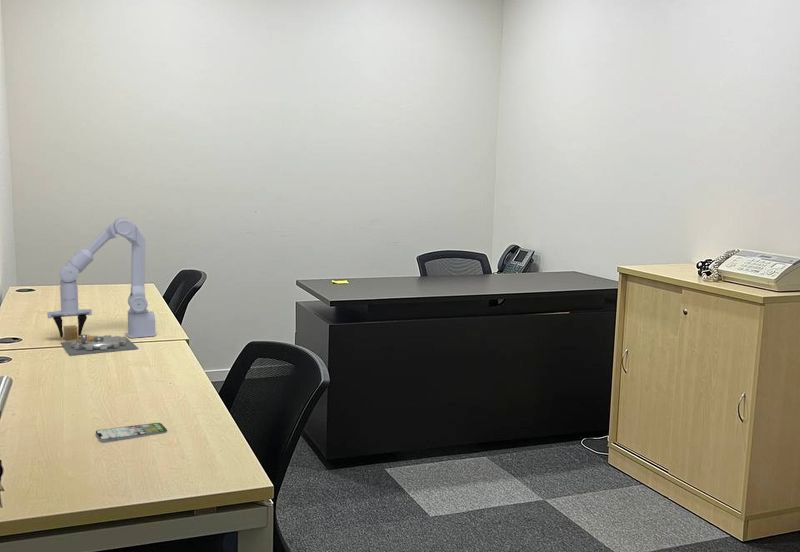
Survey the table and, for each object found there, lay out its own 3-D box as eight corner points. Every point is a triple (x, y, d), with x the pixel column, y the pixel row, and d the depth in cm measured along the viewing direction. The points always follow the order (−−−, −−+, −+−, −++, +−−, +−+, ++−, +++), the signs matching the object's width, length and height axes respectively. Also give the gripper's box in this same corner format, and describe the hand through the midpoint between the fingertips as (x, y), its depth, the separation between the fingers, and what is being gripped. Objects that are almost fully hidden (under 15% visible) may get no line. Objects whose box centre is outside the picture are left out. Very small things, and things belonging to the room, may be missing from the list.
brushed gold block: (76, 338, 278) (75, 325, 278) (77, 340, 275) (77, 327, 274) (64, 339, 276) (63, 326, 276) (65, 341, 273) (65, 328, 272)
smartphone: (168, 431, 180) (101, 440, 172) (168, 435, 180) (101, 444, 172) (160, 422, 186) (94, 430, 178) (160, 426, 186) (94, 434, 178)
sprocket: (102, 336, 279) (101, 325, 278) (137, 342, 270) (137, 330, 269) (59, 345, 263) (58, 333, 262) (95, 352, 254) (94, 339, 254)
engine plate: (125, 337, 281) (125, 336, 281) (138, 349, 263) (138, 348, 263) (60, 343, 270) (60, 342, 270) (69, 355, 252) (69, 354, 252)
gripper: (88, 296, 281) (90, 332, 283) (45, 298, 273) (47, 335, 275) (92, 298, 275) (93, 335, 277) (48, 301, 267) (49, 339, 269)
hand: (70, 336), depth 276 cm, fingers open, 5 cm apart
